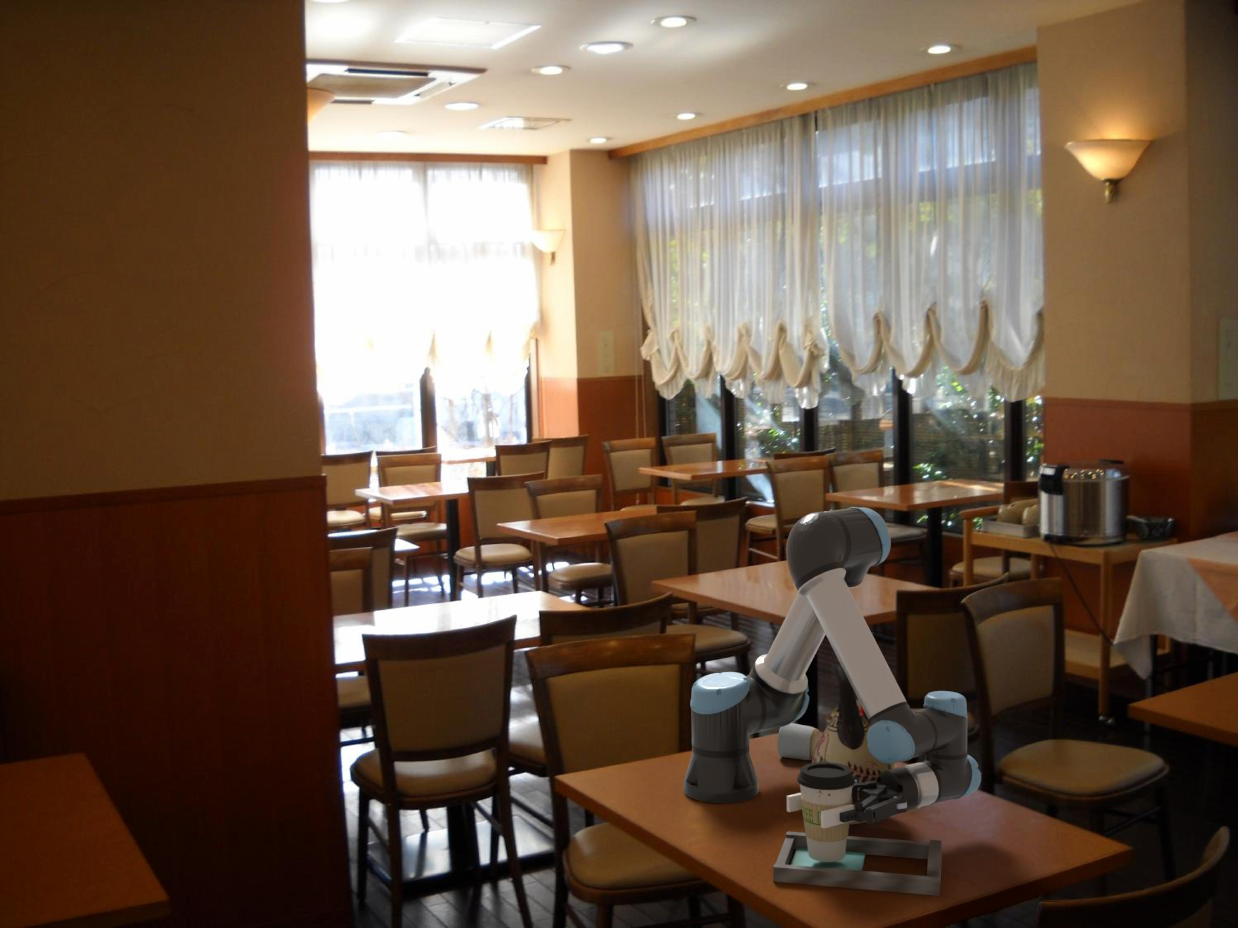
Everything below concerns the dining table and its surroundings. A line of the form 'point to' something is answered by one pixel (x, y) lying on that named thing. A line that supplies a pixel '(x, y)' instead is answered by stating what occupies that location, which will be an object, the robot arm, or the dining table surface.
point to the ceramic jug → (848, 738)
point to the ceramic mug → (797, 741)
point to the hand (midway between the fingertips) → (804, 811)
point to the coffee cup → (825, 807)
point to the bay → (860, 865)
